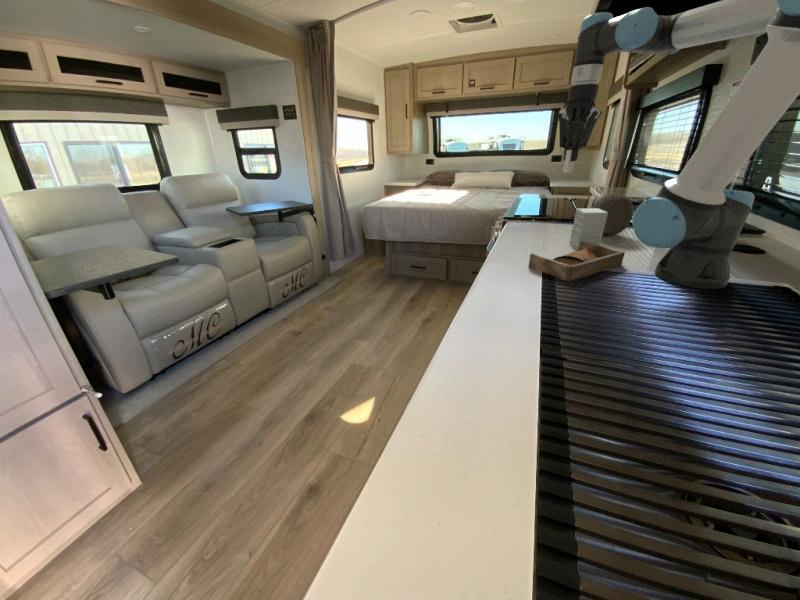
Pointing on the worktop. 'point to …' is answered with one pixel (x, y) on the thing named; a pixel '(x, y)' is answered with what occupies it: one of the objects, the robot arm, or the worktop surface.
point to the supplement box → (588, 226)
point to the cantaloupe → (615, 213)
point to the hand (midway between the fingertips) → (567, 172)
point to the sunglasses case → (576, 257)
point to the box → (568, 273)
